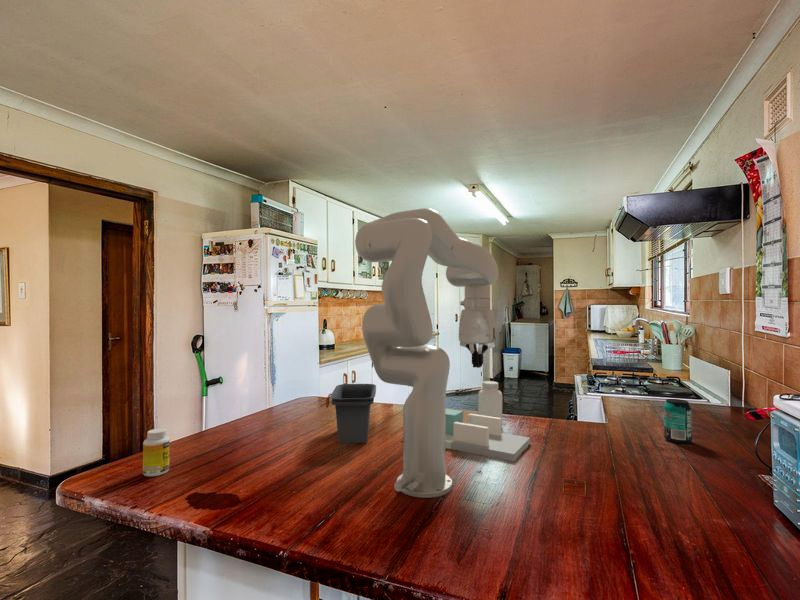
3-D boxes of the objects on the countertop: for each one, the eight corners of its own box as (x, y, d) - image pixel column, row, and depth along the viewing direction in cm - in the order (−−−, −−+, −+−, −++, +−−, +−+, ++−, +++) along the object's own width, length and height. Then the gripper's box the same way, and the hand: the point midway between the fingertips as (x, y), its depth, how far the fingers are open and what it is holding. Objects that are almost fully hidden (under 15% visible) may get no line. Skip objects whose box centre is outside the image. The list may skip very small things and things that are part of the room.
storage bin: (375, 446, 118) (375, 397, 119) (321, 447, 118) (321, 397, 118) (376, 425, 140) (376, 383, 140) (330, 426, 139) (330, 383, 139)
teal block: (454, 435, 122) (454, 415, 122) (436, 432, 125) (436, 412, 125) (463, 430, 127) (462, 411, 127) (445, 427, 130) (445, 408, 130)
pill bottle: (504, 430, 134) (504, 384, 134) (480, 430, 134) (480, 384, 134) (499, 423, 142) (499, 380, 142) (476, 423, 142) (476, 380, 142)
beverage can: (683, 437, 126) (682, 398, 127) (697, 445, 119) (696, 403, 120) (659, 436, 127) (658, 398, 127) (671, 444, 120) (671, 403, 120)
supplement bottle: (165, 476, 97) (165, 433, 98) (139, 478, 96) (139, 434, 96) (172, 467, 103) (172, 426, 103) (147, 469, 101) (147, 428, 102)
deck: (514, 461, 106) (514, 434, 106) (402, 439, 124) (402, 416, 124) (530, 444, 120) (529, 420, 120) (427, 426, 138) (427, 405, 138)
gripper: (448, 304, 122) (448, 366, 121) (497, 304, 114) (498, 370, 113) (459, 305, 128) (459, 363, 127) (506, 304, 120) (506, 367, 120)
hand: (477, 366), depth 120 cm, fingers closed
